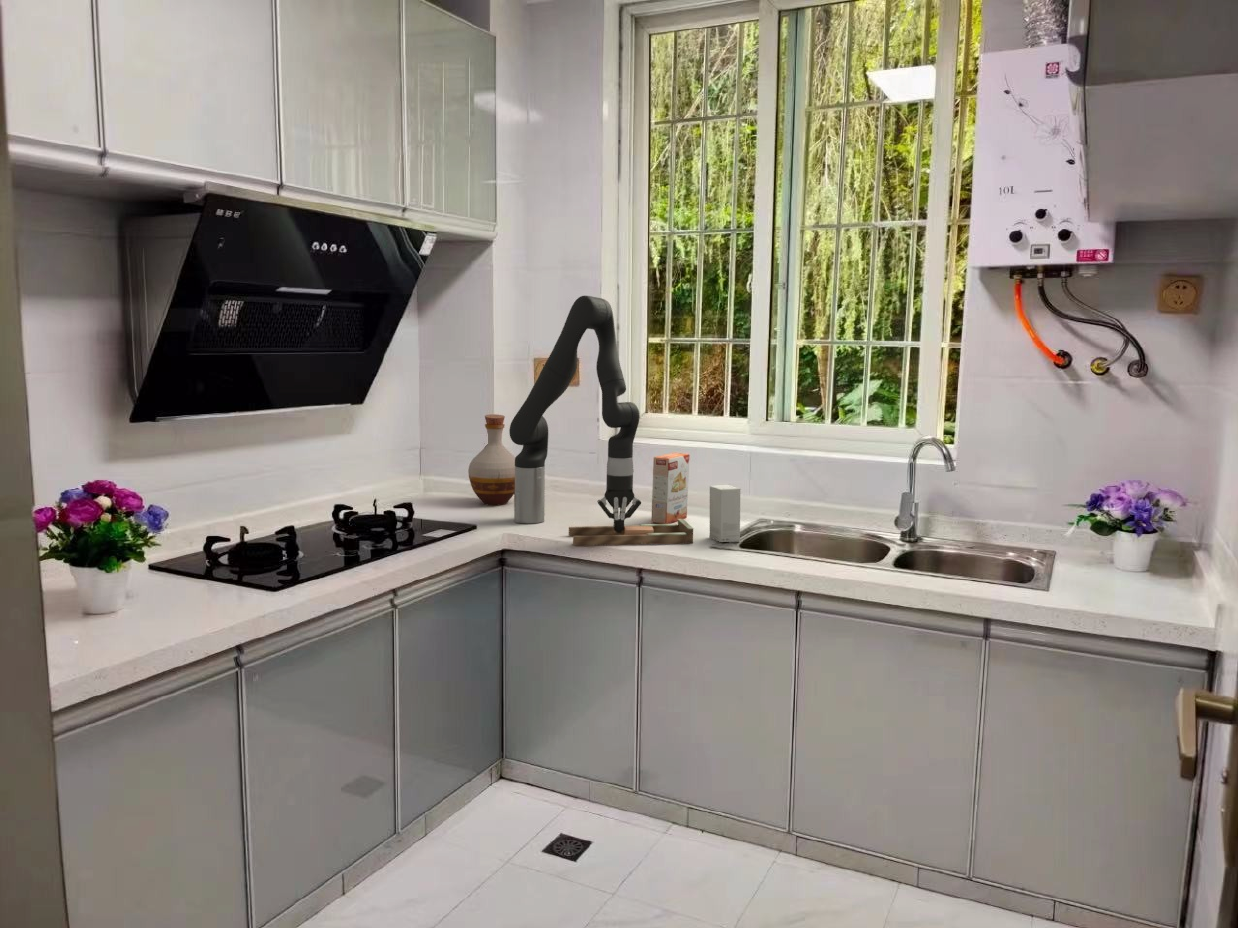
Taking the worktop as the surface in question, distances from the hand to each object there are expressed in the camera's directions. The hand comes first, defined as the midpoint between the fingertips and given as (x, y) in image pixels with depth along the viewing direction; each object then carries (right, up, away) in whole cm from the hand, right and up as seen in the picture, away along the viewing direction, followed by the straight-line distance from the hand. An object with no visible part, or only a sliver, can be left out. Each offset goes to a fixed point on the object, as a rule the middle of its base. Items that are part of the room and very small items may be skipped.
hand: (618, 532), depth 266 cm
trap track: (+3, -2, +1) cm, 4 cm away
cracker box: (+16, +2, +27) cm, 32 cm away
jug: (-42, +6, +51) cm, 66 cm away
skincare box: (+30, -3, +3) cm, 31 cm away
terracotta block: (+6, -3, -1) cm, 6 cm away
